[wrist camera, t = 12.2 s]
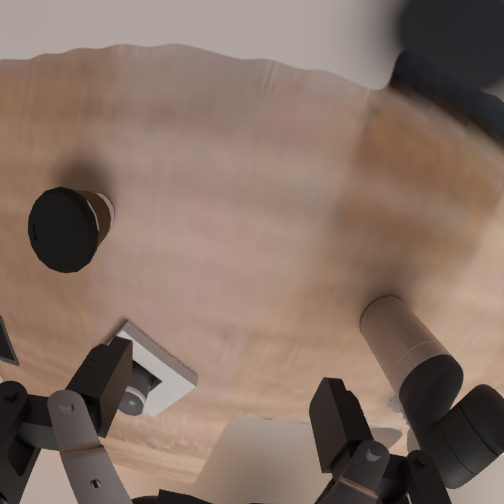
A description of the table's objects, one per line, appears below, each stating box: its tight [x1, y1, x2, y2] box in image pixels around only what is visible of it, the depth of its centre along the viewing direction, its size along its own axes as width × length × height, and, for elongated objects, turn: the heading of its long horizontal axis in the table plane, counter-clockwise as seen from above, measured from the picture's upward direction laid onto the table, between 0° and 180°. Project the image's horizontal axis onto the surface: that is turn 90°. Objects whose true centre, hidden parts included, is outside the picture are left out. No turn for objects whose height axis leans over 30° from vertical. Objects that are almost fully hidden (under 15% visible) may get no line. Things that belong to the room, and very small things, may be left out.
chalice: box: [389, 396, 421, 453], centre depth 48 cm, size 7×7×18 cm
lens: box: [118, 360, 155, 416], centre depth 47 cm, size 5×5×10 cm
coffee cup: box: [28, 187, 114, 273], centre depth 37 cm, size 11×11×12 cm
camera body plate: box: [107, 321, 198, 417], centre depth 50 cm, size 16×14×4 cm
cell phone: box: [0, 316, 19, 366], centre depth 50 cm, size 7×14×1 cm, turn 179°
